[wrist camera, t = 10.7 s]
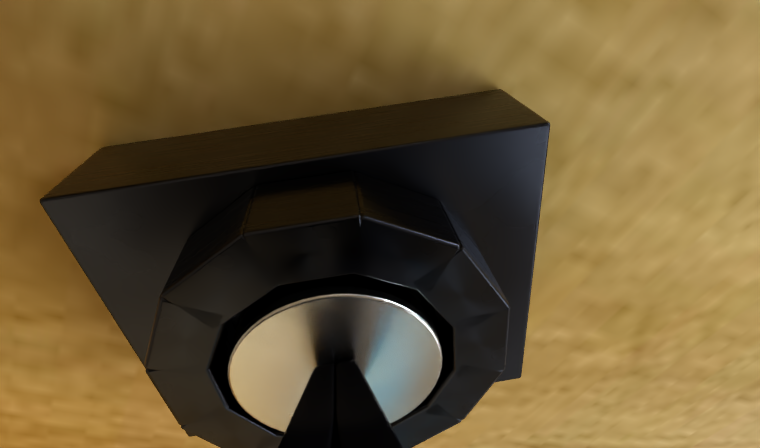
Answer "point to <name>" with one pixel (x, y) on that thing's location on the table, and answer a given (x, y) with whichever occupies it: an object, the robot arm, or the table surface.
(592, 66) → the table surface
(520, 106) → the switch block
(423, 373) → the power button
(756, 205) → the table surface
